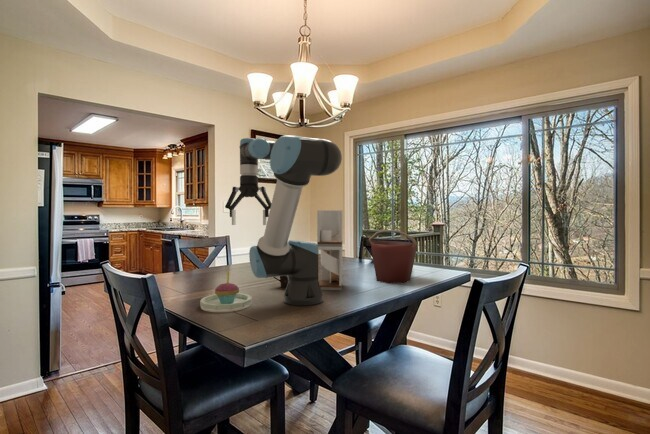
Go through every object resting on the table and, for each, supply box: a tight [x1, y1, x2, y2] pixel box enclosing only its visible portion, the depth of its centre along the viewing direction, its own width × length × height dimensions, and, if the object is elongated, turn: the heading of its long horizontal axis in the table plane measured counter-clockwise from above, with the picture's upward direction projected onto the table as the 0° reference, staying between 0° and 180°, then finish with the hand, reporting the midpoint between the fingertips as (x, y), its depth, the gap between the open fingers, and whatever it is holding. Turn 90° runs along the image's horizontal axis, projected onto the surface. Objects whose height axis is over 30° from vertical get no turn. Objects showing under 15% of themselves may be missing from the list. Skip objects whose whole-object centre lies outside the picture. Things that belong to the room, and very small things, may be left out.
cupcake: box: [214, 268, 240, 304], centre depth 130 cm, size 9×8×12 cm
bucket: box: [368, 229, 418, 284], centre depth 178 cm, size 24×22×25 cm
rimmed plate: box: [199, 292, 252, 313], centre depth 130 cm, size 18×18×2 cm
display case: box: [316, 209, 343, 291], centre depth 161 cm, size 11×11×35 cm
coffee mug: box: [273, 275, 288, 289], centre depth 162 cm, size 12×9×10 cm
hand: (249, 225), depth 152 cm, fingers open, 13 cm apart
